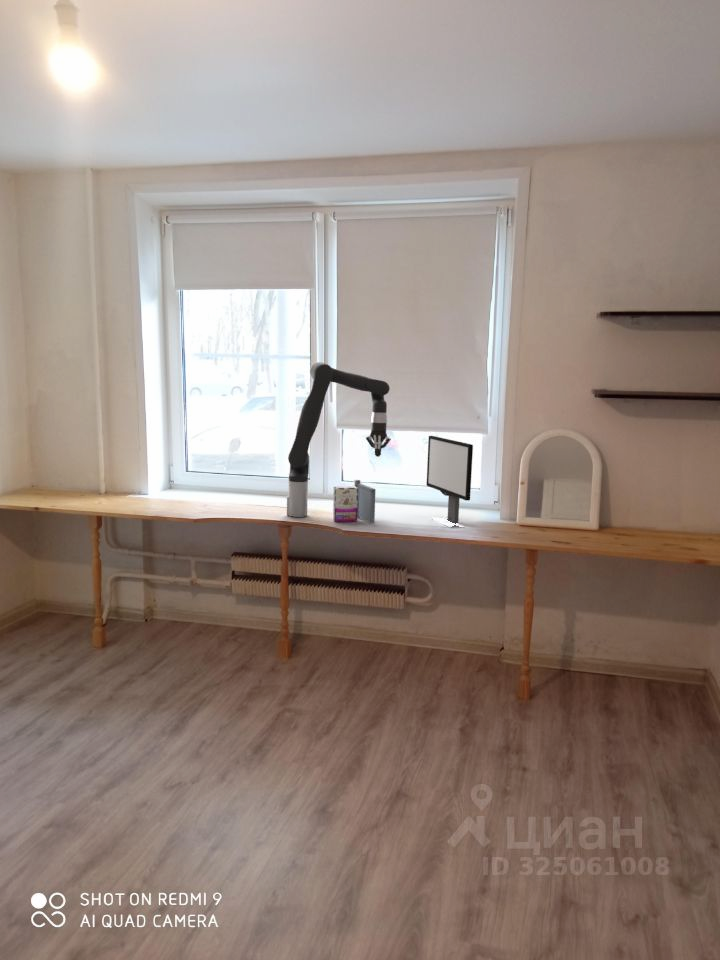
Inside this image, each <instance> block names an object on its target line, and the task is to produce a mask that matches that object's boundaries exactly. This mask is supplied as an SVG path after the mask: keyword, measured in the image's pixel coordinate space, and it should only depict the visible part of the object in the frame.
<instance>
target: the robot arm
mask: <svg viewBox="0 0 720 960" xmlns="http://www.w3.org/2000/svg"><path fill="white" fill-rule="evenodd" d="M309 374H310V376H311V378H312V379H313V381H312V382H313V383H312V387H311V390H310V393H309V395H308V396H307V398H306V399H305V401H304V402H303V406H302V407H301V411H300V415H299V419H298V423H297V429H296V435H295V438H294V441H293V444H292V446H291V448H290V451H289V453H288V458H287V459H288V462H289V473H288V495H287V496H286V516H287V515H289V517H291V516H293V517H292V518H305V517H307V516H308V500H309V499H308V498H309V497H308V496H309V495H308V492H309V491H308V489H309V487H308V486H309V471H310V470H309V469H310V455H309V447H310V444H311V441H312V438H313V436H314V434H315V432H316V430H317V427H318V425H319V421H320V417H321V413H322V410H323V406H324V403H325V397H326V395H327V391H328V389H329V387H330V384H331V383H334V384H339V385H343V386H344V387H347V388H349V389H355V390H358V391H362V392H367V393H368V392H369V393H370V396H371V402H372V408H371V409H372V411H371V424H370V427H371V428H370V430H371V431H370V434H369V435H368V436H366V438H365V439H366V441H367V443H368V444H369V445H370V447H371V448H373V449H374V455H375V457H378V458H379V457H380V456H381V455H382V449H385V448H386V447H387V445H388V444H389V443H390V442H391V440H392V439H391V438H390V437H389V436H388V434H387V422H388V418H387V417H388V416H387V415H388V414H387V406H388V405H387V402H386V400H385V395H387V394H388V393H389V392H390V385H389V384H388V382H386V381H384V380H379V379H375V378H371V377H367V376H364V375H361V374H358V373H357V374H356V373H351V372H348V371H343V370H339V369H336V368H333V367H331V365H329V364H328V363H326V362H325V363H324V362H323V361H322V362H321V361H320V362H319V361H318V362H316V363H314V364H312V365H311V367H310V369H309ZM383 442H384V443H383ZM304 516H305V517H304Z"/></svg>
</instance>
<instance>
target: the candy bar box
mask: <svg viewBox="0 0 720 960" xmlns="http://www.w3.org/2000/svg"><path fill="white" fill-rule="evenodd" d="M332 507H333V508H332V509H333V510H332V511H333V515H332V516H333V517H332V520H333V521H334V523H348V522H349V523H352V522H353V523H355V522H358V517H357V508H358V488H357V487H356V486H355V487H354V486H333V506H332Z"/></svg>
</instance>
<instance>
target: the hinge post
mask: <svg viewBox="0 0 720 960" xmlns="http://www.w3.org/2000/svg"><path fill="white" fill-rule="evenodd" d="M357 484H361V480H360V479H353V487H355V486H356V487H357Z"/></svg>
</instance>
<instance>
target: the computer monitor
mask: <svg viewBox="0 0 720 960" xmlns="http://www.w3.org/2000/svg"><path fill="white" fill-rule="evenodd" d="M473 453H474V445H473V444H471V443H467V442H462V441H458V440H452V439H449V438H443V437H439V436H435V435H428V447H427V463H426V466H427V468H426V469H427V470H426V487H429V488H432V489H434V490H437V491H440V492H441V494H442V495H444V496H445V497H448V499H447V500H448V504H447V518H448V519H447V520H448V521H450V522H452V523H455V524H456V523H459V514H460V499H461V500H464V501H471V491H472V490H471V487H472V469H473ZM452 527H453V528H452V529H455V528H454V527H459V526H456V525H454V526H452Z"/></svg>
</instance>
